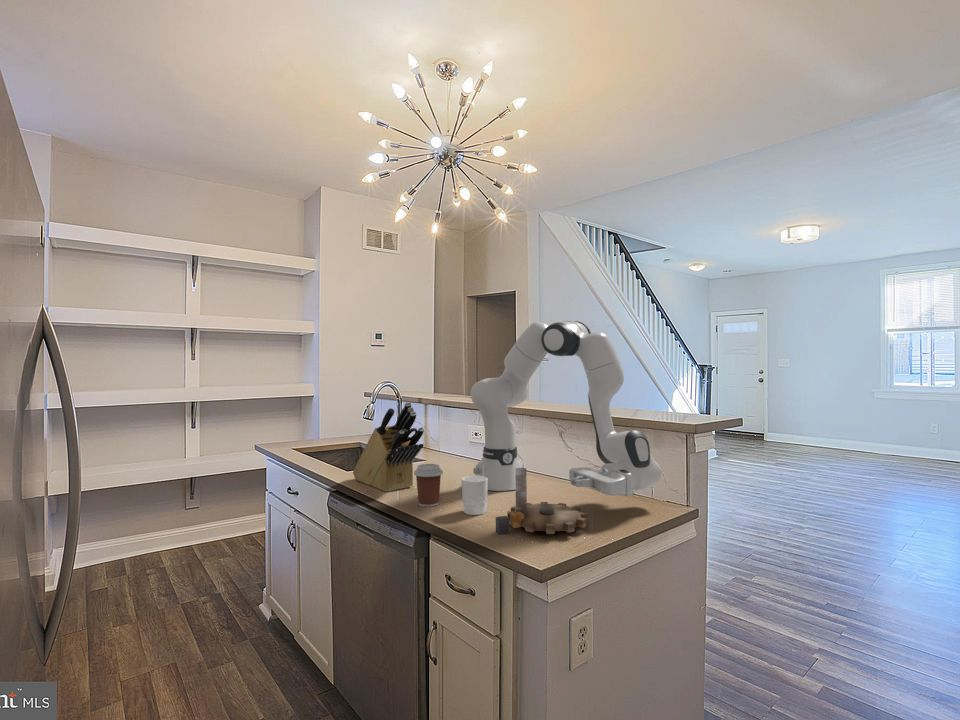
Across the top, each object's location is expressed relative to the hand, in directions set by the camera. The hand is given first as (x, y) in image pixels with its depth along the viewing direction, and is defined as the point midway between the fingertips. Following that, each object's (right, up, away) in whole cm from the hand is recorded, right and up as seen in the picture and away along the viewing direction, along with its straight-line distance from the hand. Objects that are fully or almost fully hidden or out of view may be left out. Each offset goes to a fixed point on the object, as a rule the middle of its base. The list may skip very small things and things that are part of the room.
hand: (573, 482), depth 146 cm
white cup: (-28, -10, +5) cm, 31 cm away
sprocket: (-9, -8, -8) cm, 14 cm away
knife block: (-60, -10, +38) cm, 72 cm away
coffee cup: (-43, -10, +14) cm, 47 cm away
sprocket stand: (-14, -10, -10) cm, 20 cm away
